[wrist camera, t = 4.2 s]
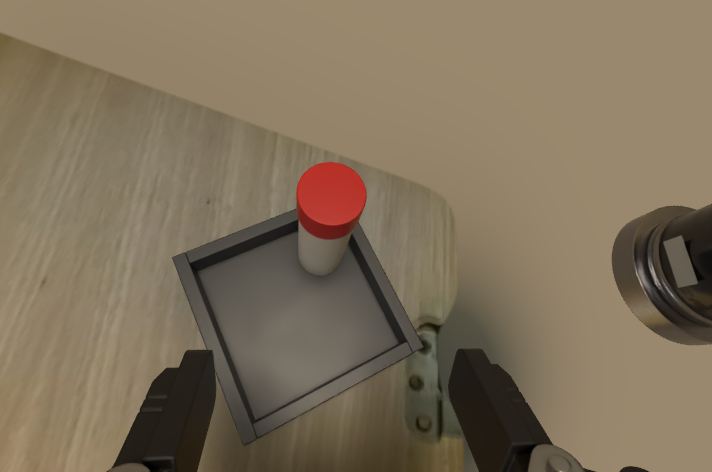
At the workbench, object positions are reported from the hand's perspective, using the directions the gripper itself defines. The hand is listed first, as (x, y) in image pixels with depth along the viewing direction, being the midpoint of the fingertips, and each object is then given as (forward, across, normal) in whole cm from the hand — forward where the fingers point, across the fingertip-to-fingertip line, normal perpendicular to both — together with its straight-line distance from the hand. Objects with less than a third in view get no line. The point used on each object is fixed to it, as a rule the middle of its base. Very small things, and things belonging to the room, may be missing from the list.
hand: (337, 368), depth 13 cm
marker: (+14, 0, +4) cm, 15 cm away
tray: (+12, +1, +6) cm, 14 cm away
